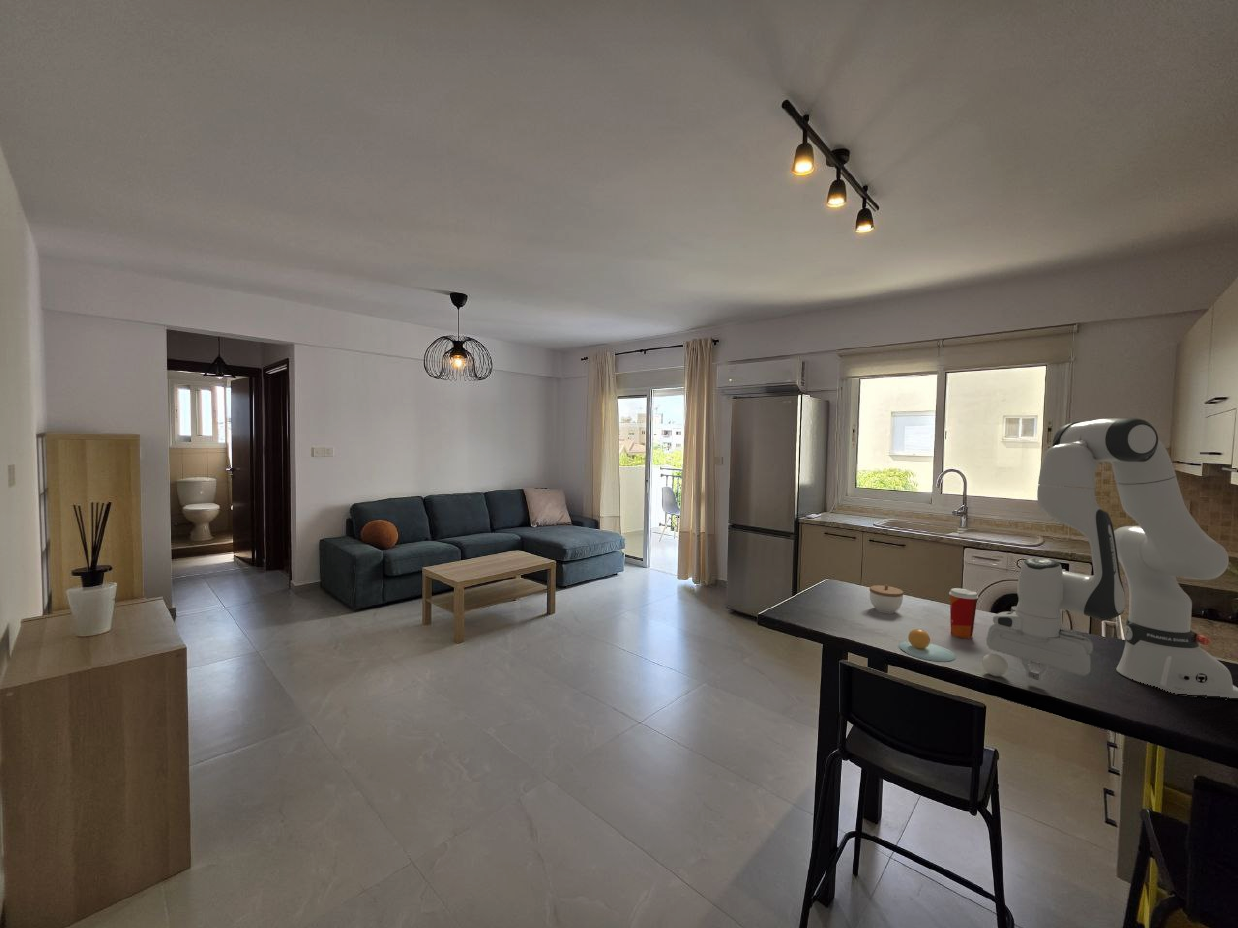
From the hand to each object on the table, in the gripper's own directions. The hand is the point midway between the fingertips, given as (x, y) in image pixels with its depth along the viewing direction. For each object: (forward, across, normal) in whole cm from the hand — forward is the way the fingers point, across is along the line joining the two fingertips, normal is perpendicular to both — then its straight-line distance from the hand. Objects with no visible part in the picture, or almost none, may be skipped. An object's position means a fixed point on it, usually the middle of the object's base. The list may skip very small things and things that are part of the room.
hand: (1034, 678), depth 130 cm
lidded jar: (+2, +50, -27) cm, 56 cm away
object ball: (-1, +27, 0) cm, 27 cm away
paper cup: (+2, +24, -23) cm, 33 cm away
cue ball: (-1, +8, +2) cm, 8 cm away
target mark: (+2, +25, 0) cm, 25 cm away
